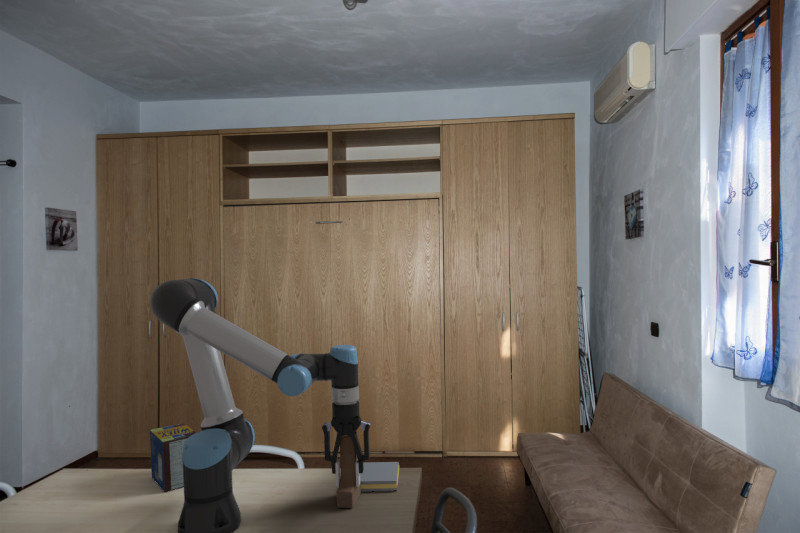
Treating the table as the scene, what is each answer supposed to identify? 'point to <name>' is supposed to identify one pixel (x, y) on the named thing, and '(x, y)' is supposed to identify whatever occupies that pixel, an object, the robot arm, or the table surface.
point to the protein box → (168, 455)
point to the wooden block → (347, 474)
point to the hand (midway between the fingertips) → (348, 484)
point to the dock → (379, 476)
